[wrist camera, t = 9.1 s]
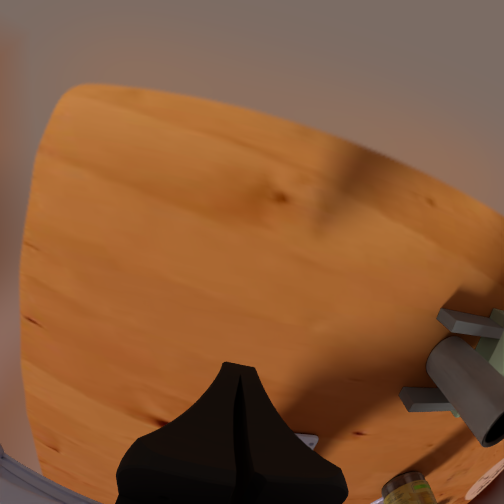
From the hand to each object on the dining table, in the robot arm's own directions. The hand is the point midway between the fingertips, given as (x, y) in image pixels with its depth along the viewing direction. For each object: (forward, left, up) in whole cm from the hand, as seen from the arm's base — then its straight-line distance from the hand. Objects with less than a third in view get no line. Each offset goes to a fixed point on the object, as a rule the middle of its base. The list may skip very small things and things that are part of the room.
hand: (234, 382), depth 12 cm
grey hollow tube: (-2, -19, -10) cm, 22 cm away
